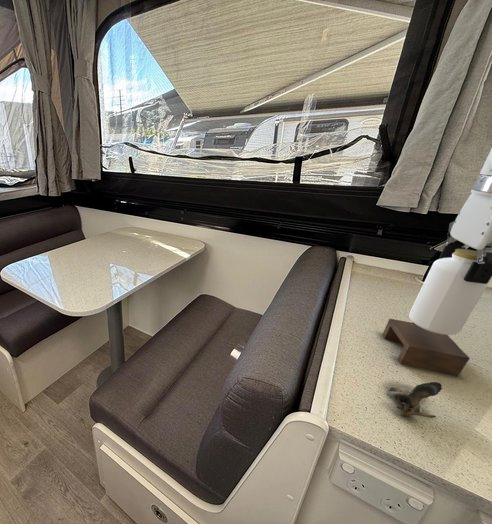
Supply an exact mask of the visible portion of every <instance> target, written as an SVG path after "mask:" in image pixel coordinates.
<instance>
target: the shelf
mask: <svg viewBox="0 0 492 524" xmlns="http://www.w3.org/2000/svg"><path fill="white" fill-rule="evenodd" d="M381 336H382V337H383V339H384V340H389V341H393V342H399V343H402V345H403V346H402V349H401V351H400V353H399V355H398V357H397V361H398V363H399V364H400V365H401V366H402V365H403V366H408V367H412V368H415V369H416V368H417V369H420V370H426V371H429V372H435V373H439V374H443V375H447V376H452V377H456V378H459V375H460V374H461V372H462V371H463V369H464V368H465V367H466V365H467V363H468V362H469V360H470V359H471V357H469V356H468V354H466V353H465V352H464V350H463V349H461V347H459V345H458V344H457V343H456V342H455V341H454V340H453V339H452V338H451V337H450V335H444V334H438V333H434V332H431V331H428V330H425V329H423V328H421V327H419V326H418V325H416V324H415V323H413V322H412V321H406V320H401V319H394V318H389V319H388V321H387V323H386V325H385V328H384V330H383V332H382V334H381Z"/></svg>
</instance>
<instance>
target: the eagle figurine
mask: <svg viewBox="0 0 492 524" xmlns="http://www.w3.org/2000/svg"><path fill="white" fill-rule="evenodd" d="M442 387H443V385H442V383H441V382H438V381H431V382H425V383H420V384H417V385H416V386H414V387H413V389H412V390H410V391H409V390H407V389H406V388H401V387H396V386H395V387H393V386H391V387H390V388H389V390H388V391H387V392H385V394H386V396H387V397H394V398H398V399H399V402H400V406H396V409H398V410H400V411H401V413H400V416H402V417H405V418H406V417H410V416H420V417H424V418H429V419H434V418H437V416H436V415H435V414H429V413H424V412H423V411H424V410H423V409H422V407H421V405H420V402H421V401H422V400H424V399H428V398H429V397H435V396H437V395H438V394H439V393H440V392H441V391H442V390H443V388H442Z"/></svg>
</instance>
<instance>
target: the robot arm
mask: <svg viewBox="0 0 492 524" xmlns="http://www.w3.org/2000/svg"><path fill="white" fill-rule="evenodd" d="M470 193H471V194H470V195H469V197H468V198H467V199H466V201H465V202H464V203H463V206H462V208H461V209H460V211H459V213H458V214H457V216H456V217H455V220H454V221H452V222H449V225H448V232H447V233H446V236H447V237H446V238H447V239H446V240H445V241H444V247H443V249H442V251H441V253H440V255H439V257H438V259H441V258H452V254H453V253H454V252H455V250H456V249H467V248H466V247H465V246H468V247H470V248H472V249H475V250H476V251H477V262H473V263H472V264H471V266H470V268H469V270H468V272H467V274H466V275H465V277H464V280H465V281H466V282H474V283H481V284H487V283H488V282H489V280H490V278H491V277H492V148H491V149H490V151H489V153H488V155H487V157H486V159H485V161H484V163H483V166H482V168H481V170H480V172H479V174H478V176H477V178H476V180H475V182H474V184H473V187H472V188H471V190H470ZM487 253H491V254H489V255H487ZM490 281H491V280H490ZM489 283H490V282H489Z"/></svg>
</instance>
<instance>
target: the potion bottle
mask: <svg viewBox="0 0 492 524" xmlns="http://www.w3.org/2000/svg"><path fill="white" fill-rule="evenodd" d="M473 262H477V250H473V249H467V248H466V249H456V250H455V252H454V253H453V254H452V258H441V259H439V258H438V259H436V260H435V261H433V263H432V265H431V267H430V269H429V271H428V273H427V275H426V278H425V280H424V282H423V284H422V285H421V289H420V290H419V292H418V294H417V297H416V299H415V301H414V303H413V304H412V306H411V309H410V311H409V313H408V317H409V319H410V322H412V323H415V324H416V325H418V326H419V327H421V328H423V329H425V330H428V331H431V332H434V333H438V334H444V335H448V336H453V335H457V334H458V333H460V332H461V331H462V329H463V327H465V324H466V323H467V321H468V319H469V317H470V316H471V315H472V313H473V311H474V309H475V307H476V306H477V304H478V302H479V300H480V299H481V298H482V296H483V294H484V292H485V291H486V289H487V288H488V285H489V284H490V282H491V280H492V277H491V278H490V280H489V282H488V283H487V284H481V283H474V282H466V281H465V280H464V277H465V275H466V274H467V272H468V270H469V268H470V266H471V264H472V263H473Z"/></svg>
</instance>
